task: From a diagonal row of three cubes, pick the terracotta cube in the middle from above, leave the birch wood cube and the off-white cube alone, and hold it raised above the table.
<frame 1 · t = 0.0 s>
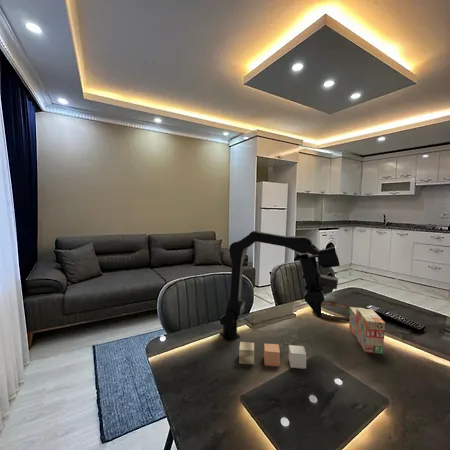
hand: (319, 312, 91), 15 cm above the table, tool pointing down, fingers open, 9 cm apart
birch cube: (246, 359, 88), on the table
terracotta cube: (271, 361, 87), on the table
off-white cube: (296, 363, 86), on the table
plant saucer: (333, 314, 129), on the table
stack of blocks: (364, 339, 104), on the table
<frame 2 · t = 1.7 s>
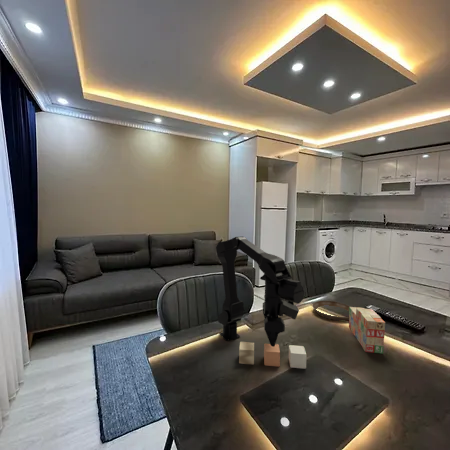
hand: (271, 339, 87), 8 cm above the table, tool pointing down, fingers open, 9 cm apart
nothing on the table moved.
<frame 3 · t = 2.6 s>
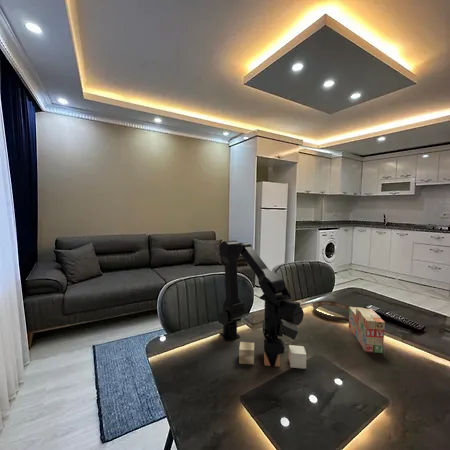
hand: (271, 358, 87), 1 cm above the table, tool pointing down, fingers open, 9 cm apart
nothing on the table moved.
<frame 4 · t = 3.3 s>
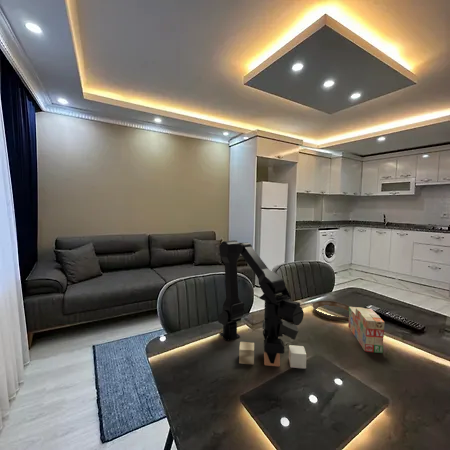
hand: (271, 358, 87), 1 cm above the table, tool pointing down, fingers closed on terracotta cube, 5 cm apart
terracotta cube: (271, 361, 87), on the table, touching gripper
everything else where it was.
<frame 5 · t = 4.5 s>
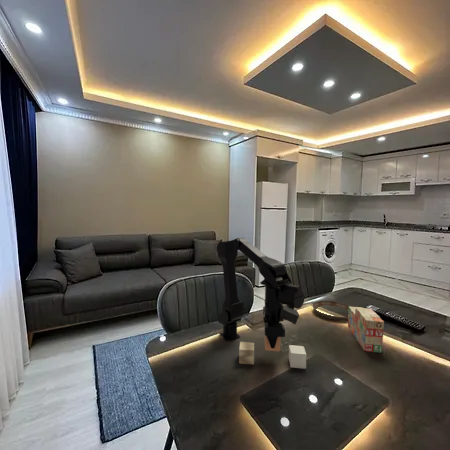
hand: (272, 343, 87), 6 cm above the table, tool pointing down, fingers closed on terracotta cube, 5 cm apart
terracotta cube: (272, 346, 87), point 5 cm above the table, touching gripper
everything else where it was.
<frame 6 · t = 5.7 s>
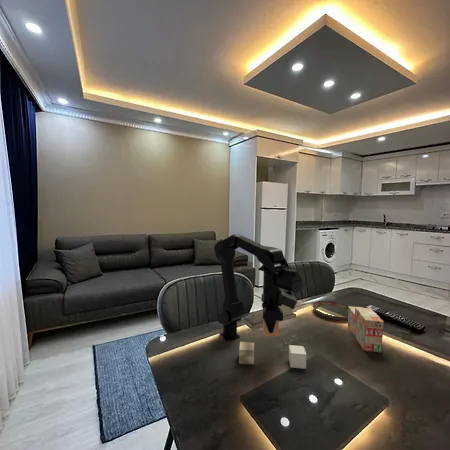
hand: (270, 329, 87), 11 cm above the table, tool pointing down, fingers closed on terracotta cube, 5 cm apart
terracotta cube: (270, 332, 87), point 10 cm above the table, touching gripper
everything else where it was.
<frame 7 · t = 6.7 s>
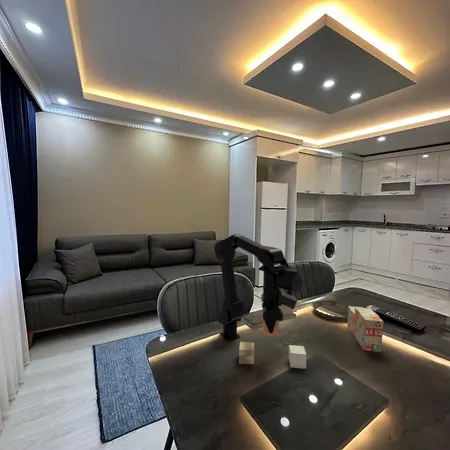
hand: (270, 329, 87), 11 cm above the table, tool pointing down, fingers closed on terracotta cube, 5 cm apart
terracotta cube: (270, 332, 87), point 10 cm above the table, touching gripper
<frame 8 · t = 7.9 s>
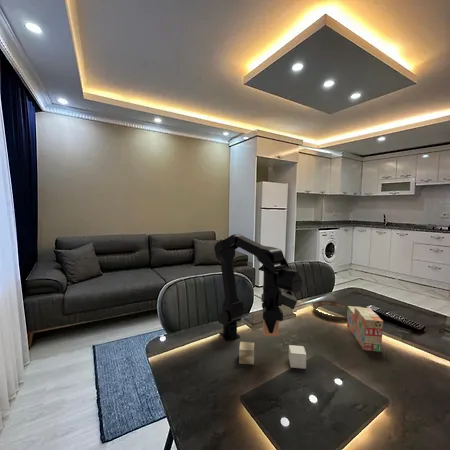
hand: (270, 329, 87), 11 cm above the table, tool pointing down, fingers closed on terracotta cube, 5 cm apart
terracotta cube: (270, 332, 87), point 10 cm above the table, touching gripper
at the end: the gripper is holding terracotta cube; terracotta cube point 9.9 cm above the table; birch cube moved 0.1 cm from its start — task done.
